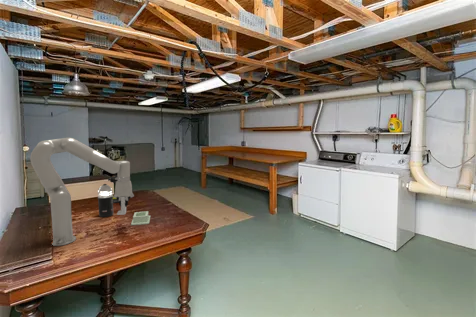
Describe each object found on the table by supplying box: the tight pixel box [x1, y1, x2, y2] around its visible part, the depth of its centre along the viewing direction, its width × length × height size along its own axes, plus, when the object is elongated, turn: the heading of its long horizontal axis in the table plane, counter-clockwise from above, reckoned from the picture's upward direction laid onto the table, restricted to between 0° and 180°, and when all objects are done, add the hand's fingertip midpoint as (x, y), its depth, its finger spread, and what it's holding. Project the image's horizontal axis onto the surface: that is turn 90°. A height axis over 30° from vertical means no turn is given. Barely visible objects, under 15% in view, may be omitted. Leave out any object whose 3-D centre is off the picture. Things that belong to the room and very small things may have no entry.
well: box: [130, 210, 151, 226], centre depth 182 cm, size 16×12×5 cm
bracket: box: [116, 197, 127, 216], centre depth 167 cm, size 6×5×12 cm
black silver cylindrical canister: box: [97, 183, 114, 218], centre depth 192 cm, size 10×10×25 cm
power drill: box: [107, 175, 130, 204], centre depth 230 cm, size 9×17×25 cm, turn 107°
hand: (123, 206), depth 167 cm, fingers closed on bracket, 2 cm apart
